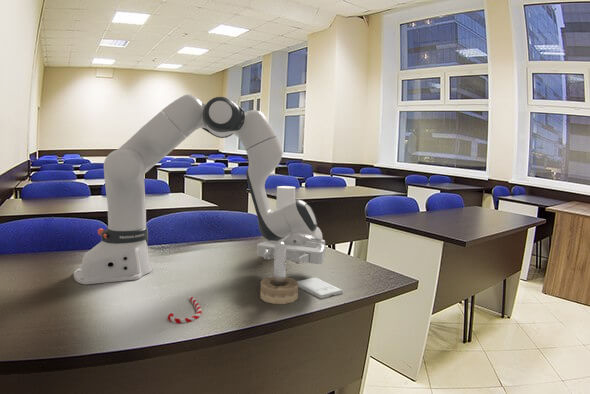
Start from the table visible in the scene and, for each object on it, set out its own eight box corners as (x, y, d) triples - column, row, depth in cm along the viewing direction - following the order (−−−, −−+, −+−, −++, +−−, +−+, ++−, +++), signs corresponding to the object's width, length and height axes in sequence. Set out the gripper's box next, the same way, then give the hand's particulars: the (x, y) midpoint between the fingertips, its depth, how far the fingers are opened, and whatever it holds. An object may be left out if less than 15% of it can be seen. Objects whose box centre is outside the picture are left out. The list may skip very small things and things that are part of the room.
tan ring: (273, 306, 109) (273, 292, 108) (253, 294, 117) (254, 280, 117) (304, 299, 115) (305, 285, 114) (284, 287, 123) (284, 274, 123)
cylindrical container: (291, 253, 160) (293, 188, 157) (273, 251, 162) (274, 187, 158) (294, 248, 167) (297, 186, 164) (277, 247, 169) (279, 185, 165)
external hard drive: (315, 282, 131) (342, 294, 121) (294, 286, 126) (320, 300, 116) (316, 277, 130) (343, 289, 120) (294, 281, 126) (321, 294, 116)
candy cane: (204, 295, 113) (199, 319, 98) (203, 300, 113) (199, 324, 98) (174, 296, 112) (165, 320, 97) (174, 300, 112) (165, 325, 97)
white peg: (277, 299, 114) (278, 244, 112) (271, 296, 116) (272, 241, 114) (287, 297, 116) (288, 242, 113) (280, 293, 118) (282, 240, 116)
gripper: (267, 233, 131) (247, 243, 119) (330, 240, 125) (317, 251, 112) (266, 253, 132) (247, 265, 119) (329, 261, 126) (316, 274, 113)
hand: (281, 258), depth 116 cm, fingers open, 8 cm apart
